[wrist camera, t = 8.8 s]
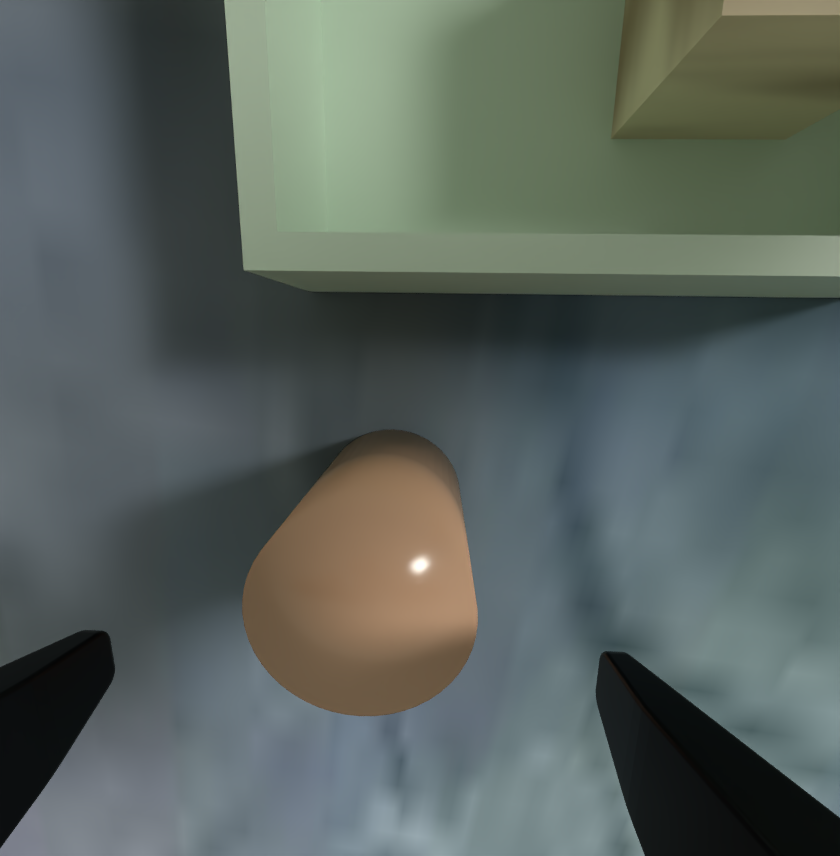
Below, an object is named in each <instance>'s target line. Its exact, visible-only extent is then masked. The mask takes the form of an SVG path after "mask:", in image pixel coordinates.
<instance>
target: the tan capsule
mask: <svg viewBox="0 0 840 856" xmlns="http://www.w3.org/2000/svg"><path fill="white" fill-rule="evenodd" d="M242 613H243V620H244V626H245V630H246V633H247V636H248V640H249V642H250V644H251V646H252V648H253V651H254V653H255V654H256V656H257V658H258V659H259V661H260V662H261V664H262V665H263V666H264V668H265V669H266V670H267V671H268V673H269V674H270V675H271V676H272V677H273V678H274V679H275V680H276V681H277V682H278V683H279V684H280V685H282V686H283V687H284V688H286V689H287V690H288V691H290V692H291V693H292V694H294V695H295V696H297V697H299V698H301V699H302V700H304V701H306V702H308V703H310V704H312V705H315V706H317V707H319V708H323V709H326V710H329V711H332V712H336V713H341V714H346V715H355V716H379V715H387V714H393V713H397V712H401V711H405V710H407V709H410V708H413V707H416V706H418V705H420V704H422V703H424V702H426V701H428V700H430V699H431V698H433V697H434V696H436V695H437V694H438V693H440V692H441V691H442V690H443V689H445V688H446V687H447V686H448V685H449V684H450V683H451V682H452V681H453V680H454V679H455V677H456V676H457V675H458V674H459V673H460V671H461V670H462V668H463V667H464V665H465V663H466V662H467V660H468V658H469V655H470V653H471V651H472V648H473V645H474V641H475V638H476V632H477V624H478V617H477V603H476V597H475V590H474V583H473V576H472V570H471V563H470V556H469V549H468V542H467V536H466V529H465V522H464V515H463V509H462V502H461V495H460V488H459V482H458V478H457V475H456V472H455V470H454V468H453V466H452V464H451V462H450V461H449V459H448V458H447V457H446V455H445V454H444V453H443V452H442V451H441V450H440V449H439V448H438V447H437V446H436V445H435V444H433V443H432V442H430V441H429V440H427V439H425V438H423V437H421V436H419V435H417V434H414V433H411V432H407V431H402V430H380V431H375V432H371V433H368V434H365V435H363V436H361V437H359V438H357V439H355V440H354V441H352V442H351V443H350V444H348V445H347V446H346V447H345V448H344V449H343V450H342V451H341V452H340V453H339V454H338V456H337V457H336V458H335V459H334V460H333V462H332V463H331V464H330V465H329V467H328V468H327V469H326V470H325V472H324V473H323V474H322V475H321V477H320V478H319V479H318V480H317V482H316V483H315V484H314V485H313V486H312V488H311V489H310V490H309V491H308V493H307V494H306V495H305V496H304V498H303V499H302V500H301V501H300V503H299V504H298V505H297V506H296V508H295V509H294V510H293V511H292V512H291V514H290V515H289V516H288V517H287V519H286V520H285V521H284V522H283V524H282V525H281V526H280V527H279V529H278V530H277V531H276V532H275V534H274V535H273V536H272V537H271V538H270V540H269V541H268V542H267V543H266V545H265V546H264V547H263V548H262V550H261V551H260V553H259V554H258V556H257V557H256V559H255V560H254V562H253V564H252V566H251V568H250V571H249V573H248V575H247V579H246V582H245V586H244V592H243V599H242Z"/></svg>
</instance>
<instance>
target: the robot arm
mask: <svg viewBox="0 0 840 856" xmlns="http://www.w3.org/2000/svg"><path fill="white" fill-rule="evenodd" d="M114 673H115V664H114V658H113V652H112V647H111V641H110V636H109V635H108V633H107V632H105V631H96V630H84V631H80V632H77V633H75V634H73V635H71V636H68V637H66V638H64V639H62V640H60V641H57V642H55V643H53V644H51V645H48V646H46V647H44V648H42V649H40V650H37V651H35V652H33V653H31V654H28V655H26V656H24V657H22V658H20V659H17V660H15V661H13V662H11V663H8V664H6V665H4V666H2V667H0V848H1V847H2V845H3V844H4V842H5V841H6V840H7V838H8V837H9V836H10V834H11V833H12V832H13V830H14V829H15V827H16V826H17V825H18V823H19V822H20V821H21V819H22V818H23V817H24V815H25V814H26V812H27V811H28V810H29V808H30V807H31V806H32V804H33V803H34V801H35V800H36V799H37V797H38V796H39V795H40V793H41V792H42V790H43V789H44V788H45V786H46V785H47V783H48V782H49V780H50V779H51V778H52V776H53V775H54V773H55V772H56V770H57V769H58V767H59V765H60V764H61V762H62V761H63V759H64V758H65V756H66V755H67V753H68V751H69V750H70V748H71V747H72V745H73V743H74V742H75V740H76V739H77V737H78V735H79V734H80V732H81V731H82V729H83V727H84V726H85V724H86V723H87V721H88V719H89V718H90V716H91V715H92V713H93V711H94V710H95V708H96V707H97V705H98V703H99V702H100V700H101V699H102V697H103V695H104V694H105V692H106V691H107V689H108V687H109V686H110V684H111V682H112V680H113V677H114ZM596 700H597V705H598V709H599V713H600V716H601V720H602V723H603V727H604V730H605V734H606V737H607V741H608V744H609V748H610V751H611V755H612V758H613V762H614V765H615V769H616V772H617V776H618V779H619V783H620V786H621V790H622V793H623V796H624V800H625V803H626V806H627V809H628V812H629V815H630V817H631V820H632V823H633V826H634V828H635V831H636V834H637V836H638V839H639V841H640V844H641V847H642V849H643V852H644V854H645V856H840V818H839V817H838V816H837V815H836V814H834V813H833V812H832V811H830V810H829V809H828V808H827V807H825V806H824V805H823V804H821V803H820V802H819V801H818V800H816V799H815V798H814V797H812V796H811V795H810V794H808V793H807V792H806V791H805V790H803V789H802V788H801V787H799V786H798V785H797V784H796V783H794V782H793V781H792V780H790V779H789V778H788V777H787V776H785V775H784V774H783V773H781V772H780V771H779V770H778V769H776V768H775V767H774V766H772V765H771V764H770V763H768V762H767V761H766V760H765V759H763V758H762V757H761V756H759V755H758V754H757V753H756V752H754V751H753V750H752V749H750V748H749V747H748V746H747V745H745V744H744V743H743V742H741V741H740V740H739V739H738V738H736V737H735V736H734V735H732V734H731V733H730V732H728V731H727V730H726V729H725V728H723V727H722V726H721V725H719V724H718V723H717V722H716V721H714V720H713V719H712V718H710V717H709V716H708V715H707V714H705V713H704V712H703V711H701V710H700V709H699V708H698V707H696V706H695V705H694V704H692V703H691V702H690V701H688V700H687V699H686V698H685V697H683V696H682V695H681V694H679V693H678V692H677V691H676V690H674V689H673V688H672V687H670V686H669V685H668V684H667V683H665V682H664V681H663V680H661V679H660V678H659V677H658V676H656V675H655V674H654V673H652V672H651V671H650V670H648V669H647V668H646V667H645V666H643V665H642V664H641V663H639V662H638V661H637V660H636V659H634V658H633V657H632V656H630V655H629V654H627V653H625V652H611V651H605V652H603V653H602V654H601V656H600V660H599V668H598V676H597V684H596Z"/></svg>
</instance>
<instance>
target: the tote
mask: <svg viewBox="0 0 840 856" xmlns="http://www.w3.org/2000/svg"><path fill="white" fill-rule="evenodd" d="M224 3H225V17H226V31H227V45H228V59H229V73H230V87H231V101H232V115H233V129H234V143H235V156H236V170H237V184H238V198H239V212H240V226H241V240H242V254H243V268H244V271H247V272H251V273H254V274H257V275H260V276H263V277H266V278H269V279H272V280H275V281H278V282H281V283H284V284H287V285H291V286H294V287H297V288H300V289H303V290H306V291H309V292H382V293H465V294H549V295H633V296H716V297H800V298H840V109H839V110H838V111H836V112H834V113H832V114H830V115H829V116H827V117H825V118H823V119H821V120H820V121H818V122H816V123H814V124H812V125H811V126H809V127H807V128H805V129H803V130H802V131H800V132H798V133H796V134H794V135H793V136H791V137H789V138H787V139H785V140H760V139H611V134H612V124H613V114H614V105H615V95H616V85H617V76H618V66H619V57H620V47H621V37H622V28H623V18H624V9H625V0H224Z"/></svg>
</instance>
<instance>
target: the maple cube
mask: <svg viewBox="0 0 840 856" xmlns="http://www.w3.org/2000/svg"><path fill="white" fill-rule="evenodd" d="M839 109H840V0H625V9H624V18H623V28H622V37H621V47H620V57H619V66H618V76H617V85H616V95H615V105H614V114H613V124H612V134H611V139H760V140H785V139H787V138H789V137H791V136H793V135H794V134H796V133H798V132H800V131H802V130H803V129H805V128H807V127H809V126H811V125H812V124H814V123H816V122H818V121H820V120H821V119H823V118H825V117H827V116H829V115H830V114H832V113H834V112H836V111H838V110H839Z"/></svg>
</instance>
